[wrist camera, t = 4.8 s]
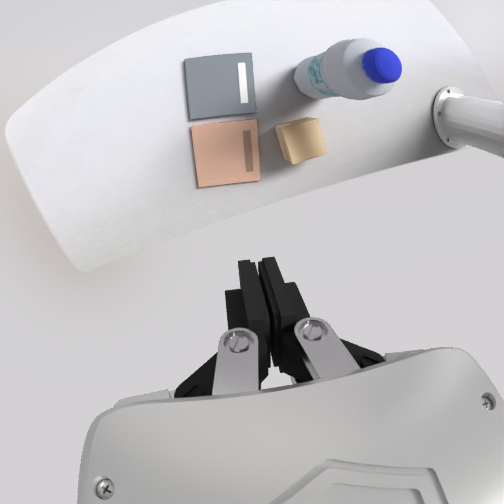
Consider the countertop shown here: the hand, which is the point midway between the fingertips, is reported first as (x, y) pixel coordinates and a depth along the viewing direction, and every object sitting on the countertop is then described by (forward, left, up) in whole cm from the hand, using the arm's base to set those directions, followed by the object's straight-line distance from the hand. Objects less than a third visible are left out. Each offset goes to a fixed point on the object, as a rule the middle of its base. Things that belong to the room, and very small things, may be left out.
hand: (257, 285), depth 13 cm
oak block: (-10, -3, -29) cm, 31 cm away
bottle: (-13, -12, -29) cm, 34 cm away
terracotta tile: (0, -2, -29) cm, 29 cm away
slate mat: (0, -12, -29) cm, 31 cm away
